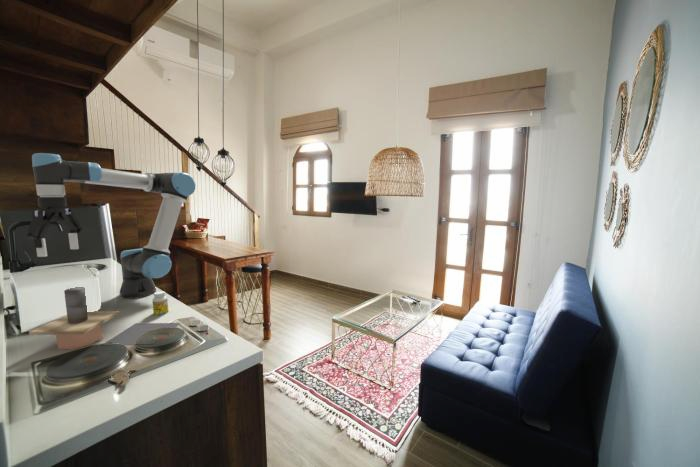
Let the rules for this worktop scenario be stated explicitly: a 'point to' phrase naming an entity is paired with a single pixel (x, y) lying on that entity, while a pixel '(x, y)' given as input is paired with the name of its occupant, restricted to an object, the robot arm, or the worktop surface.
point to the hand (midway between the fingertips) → (59, 252)
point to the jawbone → (122, 377)
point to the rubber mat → (137, 332)
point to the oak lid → (75, 316)
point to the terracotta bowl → (78, 338)
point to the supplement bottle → (160, 303)
